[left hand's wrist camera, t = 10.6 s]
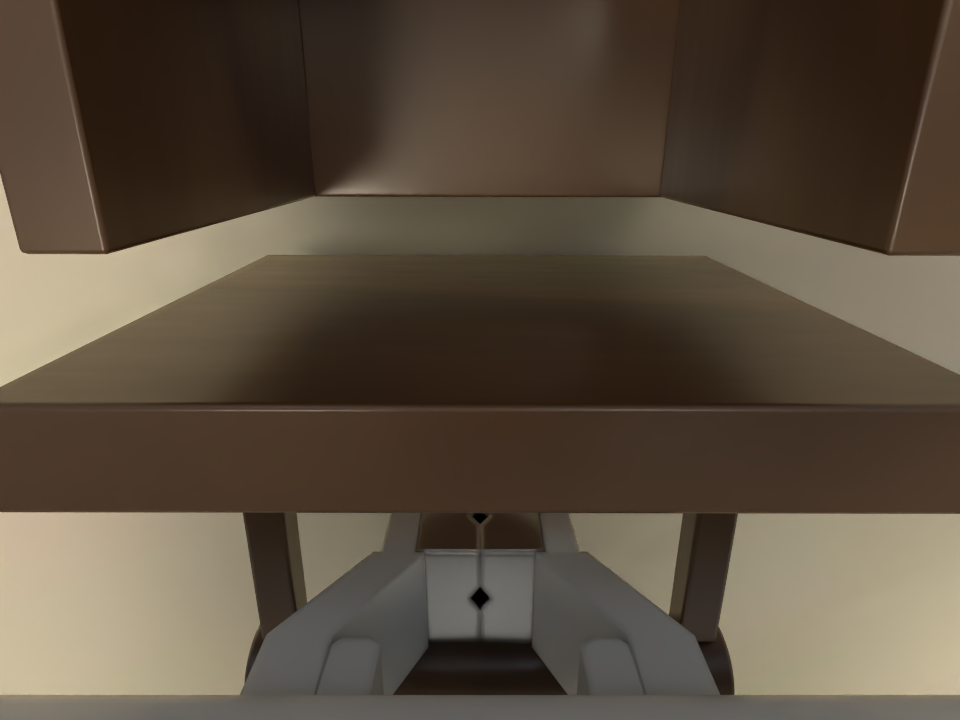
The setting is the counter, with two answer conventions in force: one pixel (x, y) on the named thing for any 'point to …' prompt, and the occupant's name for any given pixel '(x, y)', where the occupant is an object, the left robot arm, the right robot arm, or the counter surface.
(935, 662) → the counter surface
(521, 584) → the left robot arm
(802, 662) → the counter surface
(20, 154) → the drawer
